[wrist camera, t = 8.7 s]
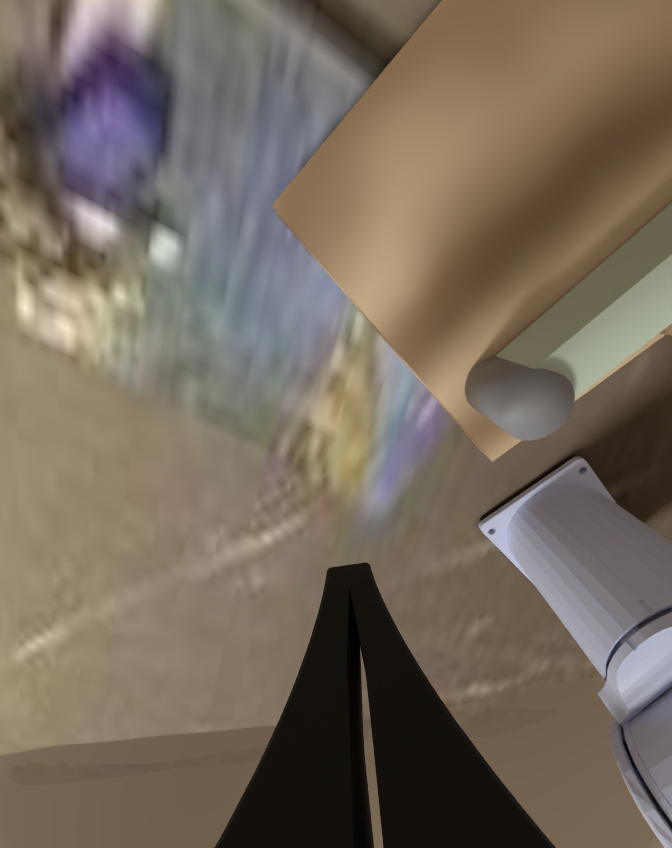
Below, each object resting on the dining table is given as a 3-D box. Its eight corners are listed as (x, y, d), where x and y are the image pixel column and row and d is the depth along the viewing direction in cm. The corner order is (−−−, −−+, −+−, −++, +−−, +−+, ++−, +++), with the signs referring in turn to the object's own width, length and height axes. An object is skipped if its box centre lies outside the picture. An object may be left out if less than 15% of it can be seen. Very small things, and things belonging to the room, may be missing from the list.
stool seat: (754, 235, 16) (989, 201, 10) (476, 446, 20) (536, 504, 14) (615, -182, 11) (935, -707, 5) (278, 216, 15) (251, 166, 9)
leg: (486, 423, 17) (525, 453, 13) (453, 385, 16) (486, 408, 13) (766, 195, 13) (910, 162, 10) (743, 131, 12) (894, 71, 9)
